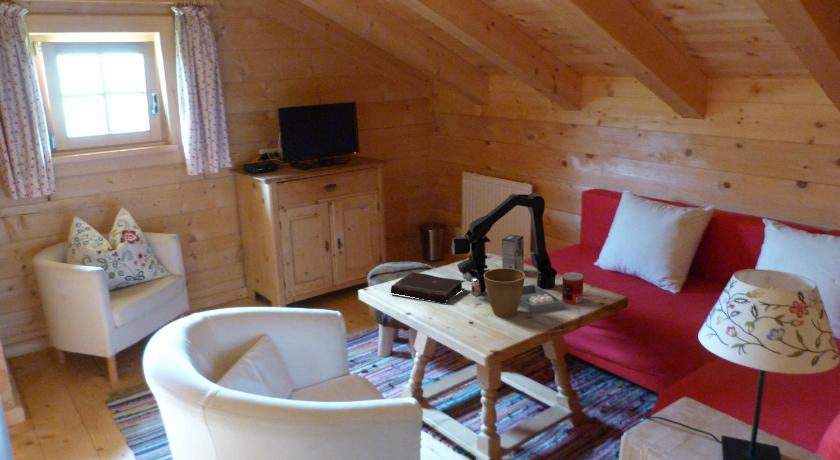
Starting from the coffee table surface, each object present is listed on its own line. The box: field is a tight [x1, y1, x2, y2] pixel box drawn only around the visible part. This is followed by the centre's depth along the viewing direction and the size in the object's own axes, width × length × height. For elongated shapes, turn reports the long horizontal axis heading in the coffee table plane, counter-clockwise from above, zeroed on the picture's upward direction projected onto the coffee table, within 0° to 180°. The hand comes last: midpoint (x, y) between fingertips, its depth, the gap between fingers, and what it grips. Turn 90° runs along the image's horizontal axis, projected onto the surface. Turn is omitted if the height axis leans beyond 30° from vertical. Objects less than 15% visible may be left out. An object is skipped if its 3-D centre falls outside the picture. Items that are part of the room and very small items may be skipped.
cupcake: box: [461, 257, 472, 281], centre depth 285 cm, size 9×9×10 cm
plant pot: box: [484, 267, 526, 318], centre depth 243 cm, size 15×15×16 cm
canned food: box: [561, 272, 584, 305], centre depth 253 cm, size 8×8×11 cm
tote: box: [518, 283, 563, 314], centre depth 255 cm, size 13×21×4 cm, turn 19°
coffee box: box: [501, 234, 525, 272], centre depth 290 cm, size 9×6×16 cm
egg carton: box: [529, 294, 554, 305], centre depth 249 cm, size 8×5×4 cm, turn 109°
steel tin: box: [471, 276, 487, 298], centre depth 266 cm, size 6×6×7 cm
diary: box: [390, 271, 466, 304], centre depth 271 cm, size 19×25×5 cm
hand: (478, 289), depth 266 cm, fingers open, 6 cm apart
